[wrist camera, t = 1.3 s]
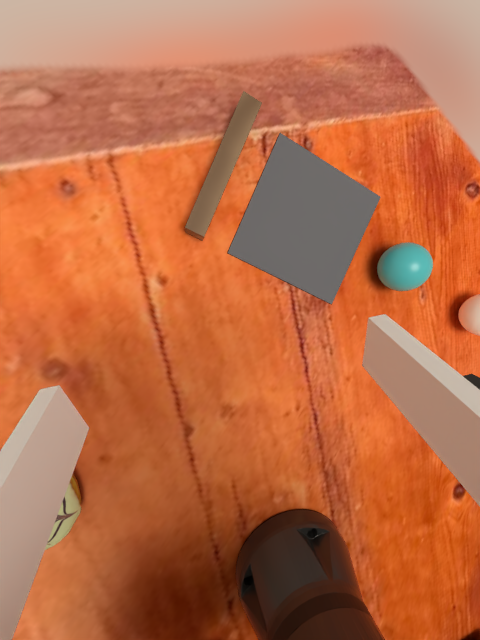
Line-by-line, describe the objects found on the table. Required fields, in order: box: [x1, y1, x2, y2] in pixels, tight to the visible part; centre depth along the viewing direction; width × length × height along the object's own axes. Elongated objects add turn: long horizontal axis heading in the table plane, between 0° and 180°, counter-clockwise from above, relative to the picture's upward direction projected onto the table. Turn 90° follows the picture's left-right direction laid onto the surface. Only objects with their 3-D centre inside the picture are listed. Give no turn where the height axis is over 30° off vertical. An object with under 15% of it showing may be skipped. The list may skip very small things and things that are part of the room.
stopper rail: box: [185, 91, 262, 240], centre depth 27 cm, size 2×14×2 cm, turn 156°
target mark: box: [228, 133, 380, 304], centre depth 31 cm, size 14×14×1 cm
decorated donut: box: [45, 474, 81, 550], centre depth 27 cm, size 10×11×4 cm
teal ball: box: [377, 243, 433, 291], centre depth 31 cm, size 6×6×6 cm
